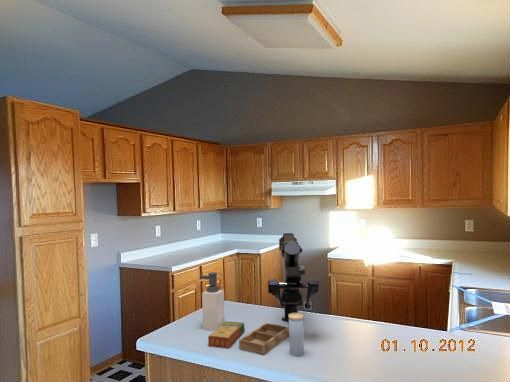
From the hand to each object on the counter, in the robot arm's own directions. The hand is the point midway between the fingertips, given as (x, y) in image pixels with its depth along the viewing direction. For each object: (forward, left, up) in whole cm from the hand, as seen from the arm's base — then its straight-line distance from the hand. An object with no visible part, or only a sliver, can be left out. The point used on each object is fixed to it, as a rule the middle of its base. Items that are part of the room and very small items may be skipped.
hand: (294, 307), depth 133 cm
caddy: (+4, -10, -13) cm, 17 cm away
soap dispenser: (+1, -37, -13) cm, 40 cm away
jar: (+7, +4, -13) cm, 15 cm away
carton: (+8, -24, -14) cm, 29 cm away
